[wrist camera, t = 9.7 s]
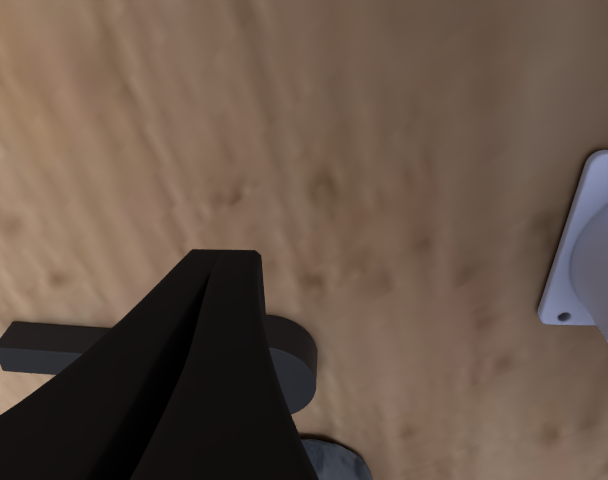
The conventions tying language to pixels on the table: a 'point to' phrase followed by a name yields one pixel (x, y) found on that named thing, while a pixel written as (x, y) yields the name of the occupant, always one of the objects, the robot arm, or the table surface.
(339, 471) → the moka pot
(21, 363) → the coffee scoop
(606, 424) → the table surface
